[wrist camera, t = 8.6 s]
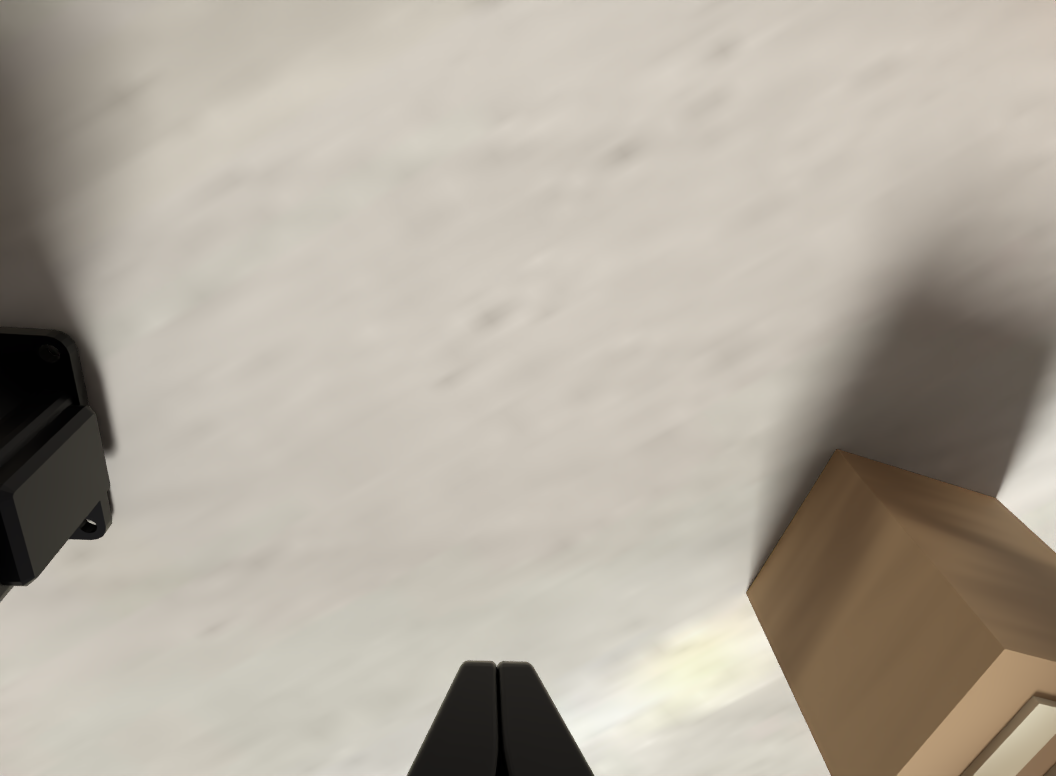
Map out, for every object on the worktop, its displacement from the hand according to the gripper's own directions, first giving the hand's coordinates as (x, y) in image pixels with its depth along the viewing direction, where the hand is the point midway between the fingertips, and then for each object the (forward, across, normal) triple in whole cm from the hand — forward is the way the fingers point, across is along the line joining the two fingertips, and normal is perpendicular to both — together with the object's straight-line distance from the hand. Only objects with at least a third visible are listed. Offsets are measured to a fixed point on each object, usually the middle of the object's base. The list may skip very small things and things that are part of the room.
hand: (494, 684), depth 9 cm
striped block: (+12, -13, +7) cm, 19 cm away
